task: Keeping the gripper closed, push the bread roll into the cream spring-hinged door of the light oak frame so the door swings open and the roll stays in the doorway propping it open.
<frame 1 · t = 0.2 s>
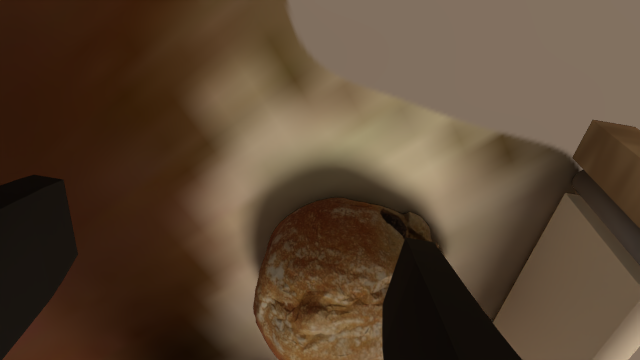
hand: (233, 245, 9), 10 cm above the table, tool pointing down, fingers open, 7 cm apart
bread roll: (350, 269, 23), on the table
door frame: (583, 176, 19), on the table
door: (556, 339, 19), point 3 cm above the table, hinge at 0.0°
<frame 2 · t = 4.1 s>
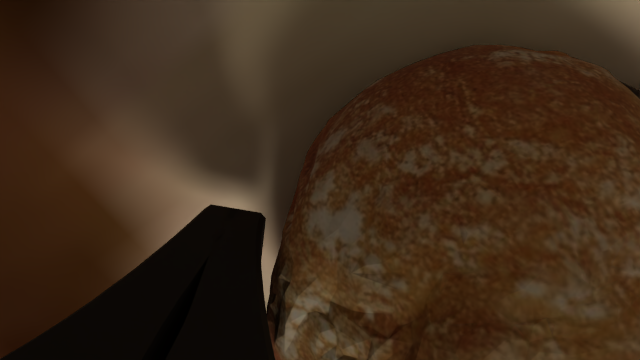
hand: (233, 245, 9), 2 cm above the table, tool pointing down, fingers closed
bread roll: (462, 240, 11), on the table, touching gripper
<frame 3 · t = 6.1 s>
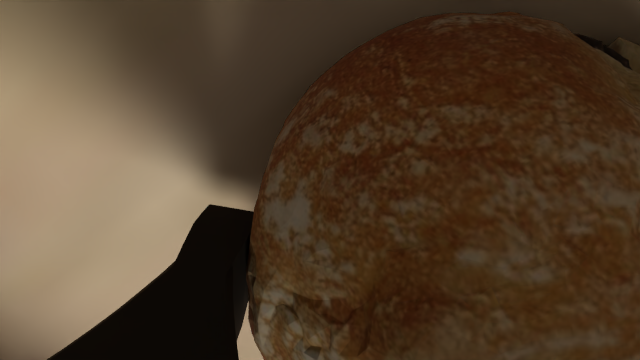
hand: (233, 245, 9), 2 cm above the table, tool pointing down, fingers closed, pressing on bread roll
bread roll: (454, 221, 11), on the table, touching door, gripper
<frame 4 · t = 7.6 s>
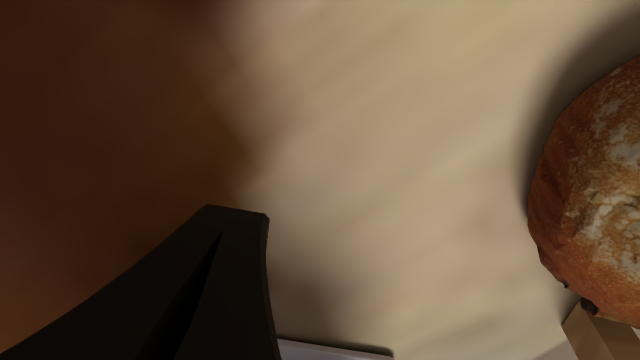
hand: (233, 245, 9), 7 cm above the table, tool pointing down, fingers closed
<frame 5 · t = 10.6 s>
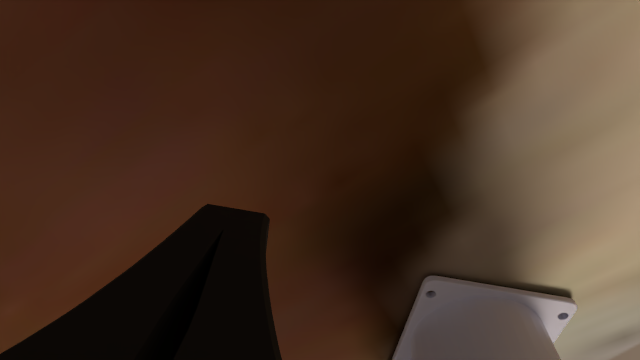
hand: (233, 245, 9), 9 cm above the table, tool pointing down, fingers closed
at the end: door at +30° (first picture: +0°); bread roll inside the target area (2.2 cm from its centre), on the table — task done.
